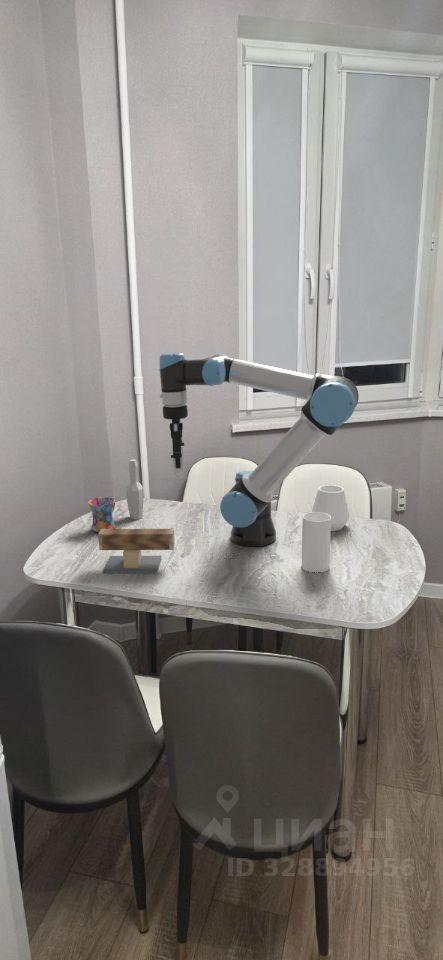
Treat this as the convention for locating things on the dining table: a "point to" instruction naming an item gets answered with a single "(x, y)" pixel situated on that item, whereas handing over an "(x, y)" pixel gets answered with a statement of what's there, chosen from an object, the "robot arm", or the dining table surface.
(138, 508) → the low poly bottle
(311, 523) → the cup
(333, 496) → the white tapered vase
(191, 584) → the dining table surface
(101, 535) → the beam
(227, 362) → the robot arm
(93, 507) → the mug
